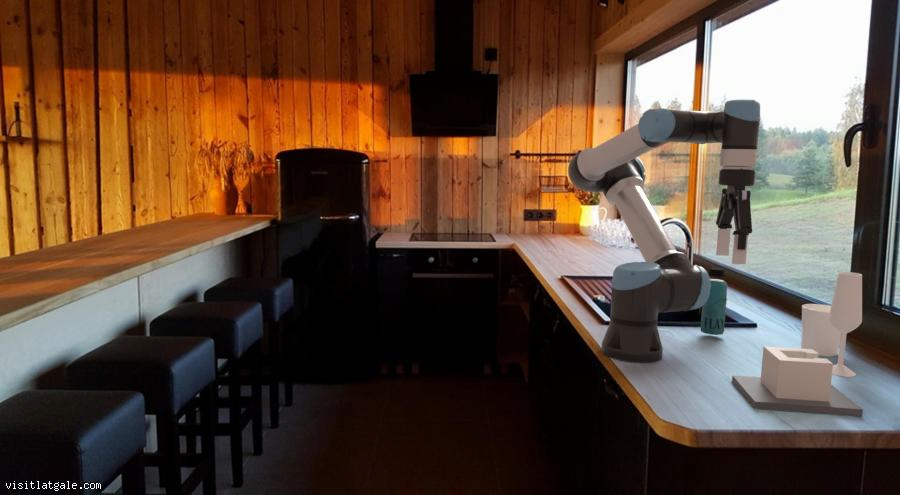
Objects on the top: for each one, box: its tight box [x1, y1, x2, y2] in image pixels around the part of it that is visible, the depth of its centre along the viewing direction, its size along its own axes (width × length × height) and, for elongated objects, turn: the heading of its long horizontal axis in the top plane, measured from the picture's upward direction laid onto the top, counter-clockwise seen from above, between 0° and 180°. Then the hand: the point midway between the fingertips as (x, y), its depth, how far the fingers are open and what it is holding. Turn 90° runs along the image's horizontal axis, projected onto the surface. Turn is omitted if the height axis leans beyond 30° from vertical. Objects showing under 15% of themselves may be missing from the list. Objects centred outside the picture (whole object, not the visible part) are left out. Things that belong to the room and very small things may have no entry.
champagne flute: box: [829, 271, 863, 378], centre depth 149 cm, size 7×7×24 cm
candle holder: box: [800, 303, 841, 358], centre depth 166 cm, size 10×10×12 cm
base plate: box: [731, 374, 864, 418], centre depth 132 cm, size 20×16×6 cm
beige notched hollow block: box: [760, 345, 834, 402], centre depth 132 cm, size 10×10×8 cm
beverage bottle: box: [700, 267, 728, 336], centre depth 178 cm, size 6×7×20 cm
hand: (730, 259), depth 148 cm, fingers open, 13 cm apart
